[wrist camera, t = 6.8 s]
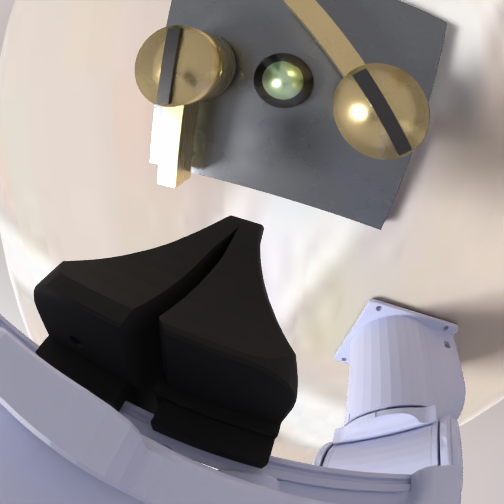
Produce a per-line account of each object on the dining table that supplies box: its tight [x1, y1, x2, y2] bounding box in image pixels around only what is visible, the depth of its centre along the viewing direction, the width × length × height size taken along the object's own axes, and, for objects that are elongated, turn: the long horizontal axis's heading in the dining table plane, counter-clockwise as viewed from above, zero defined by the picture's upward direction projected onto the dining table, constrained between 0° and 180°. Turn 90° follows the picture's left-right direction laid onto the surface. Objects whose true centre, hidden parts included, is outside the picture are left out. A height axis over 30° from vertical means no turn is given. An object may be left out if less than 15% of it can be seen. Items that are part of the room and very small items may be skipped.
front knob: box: [283, 0, 430, 160], centre depth 11 cm, size 9×4×4 cm, turn 37°
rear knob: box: [135, 25, 236, 188], centre depth 14 cm, size 9×4×4 cm, turn 169°
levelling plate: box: [150, 0, 447, 230], centre depth 14 cm, size 16×14×2 cm
